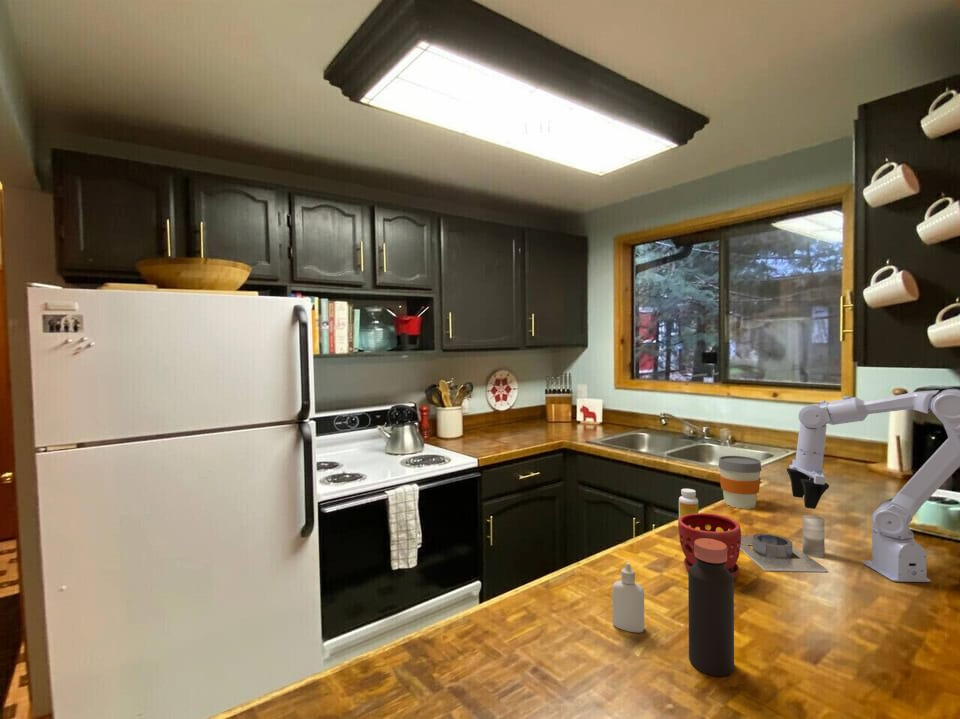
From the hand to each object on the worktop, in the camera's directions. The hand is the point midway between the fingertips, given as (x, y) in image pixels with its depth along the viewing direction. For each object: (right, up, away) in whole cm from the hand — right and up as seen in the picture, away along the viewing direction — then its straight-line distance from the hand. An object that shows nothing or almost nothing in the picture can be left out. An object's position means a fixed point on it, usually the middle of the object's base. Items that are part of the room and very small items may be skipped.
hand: (803, 502), depth 122 cm
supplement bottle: (-21, -12, +20) cm, 31 cm away
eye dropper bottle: (-56, -14, -33) cm, 66 cm away
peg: (+1, -12, -3) cm, 12 cm away
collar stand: (-9, -12, -2) cm, 16 cm away
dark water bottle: (-45, -14, -44) cm, 64 cm away
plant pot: (-30, -13, -12) cm, 35 cm away
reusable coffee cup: (+3, -12, +35) cm, 37 cm away
